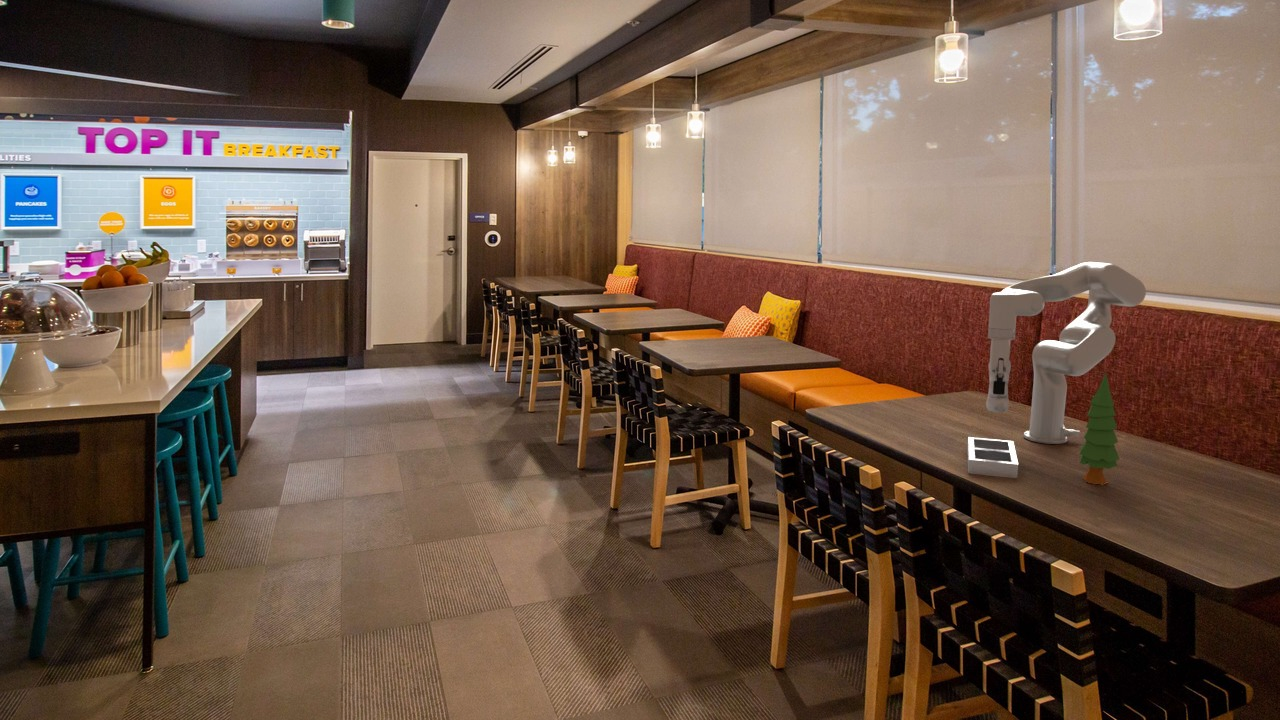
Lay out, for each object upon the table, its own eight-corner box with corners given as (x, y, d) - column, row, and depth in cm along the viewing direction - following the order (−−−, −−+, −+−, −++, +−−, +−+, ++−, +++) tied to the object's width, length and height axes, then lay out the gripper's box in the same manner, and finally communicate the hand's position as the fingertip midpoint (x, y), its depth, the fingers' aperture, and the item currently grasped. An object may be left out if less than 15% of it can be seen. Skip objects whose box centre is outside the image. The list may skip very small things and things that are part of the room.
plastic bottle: (1007, 409, 259) (1011, 346, 255) (1009, 415, 252) (1013, 350, 249) (985, 408, 261) (988, 345, 257) (986, 414, 255) (989, 349, 251)
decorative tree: (1100, 475, 230) (1111, 369, 225) (1125, 486, 221) (1137, 376, 215) (1068, 477, 229) (1079, 370, 223) (1092, 489, 220) (1103, 377, 214)
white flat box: (1012, 453, 250) (1013, 441, 249) (1017, 478, 228) (1018, 464, 227) (967, 449, 254) (968, 437, 254) (968, 473, 232) (969, 459, 232)
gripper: (987, 328, 261) (984, 385, 265) (989, 337, 245) (985, 397, 249) (1013, 329, 258) (1010, 386, 262) (1017, 338, 243) (1013, 399, 246)
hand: (998, 391), depth 255 cm, fingers closed on plastic bottle, 5 cm apart
